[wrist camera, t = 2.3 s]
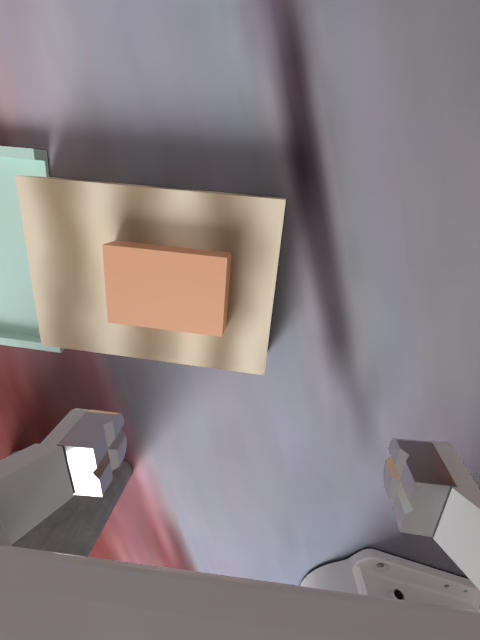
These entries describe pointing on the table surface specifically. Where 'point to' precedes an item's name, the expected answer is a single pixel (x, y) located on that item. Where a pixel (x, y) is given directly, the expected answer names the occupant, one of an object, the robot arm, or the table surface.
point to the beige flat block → (159, 229)
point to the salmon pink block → (167, 287)
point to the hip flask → (77, 520)
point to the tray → (17, 252)
